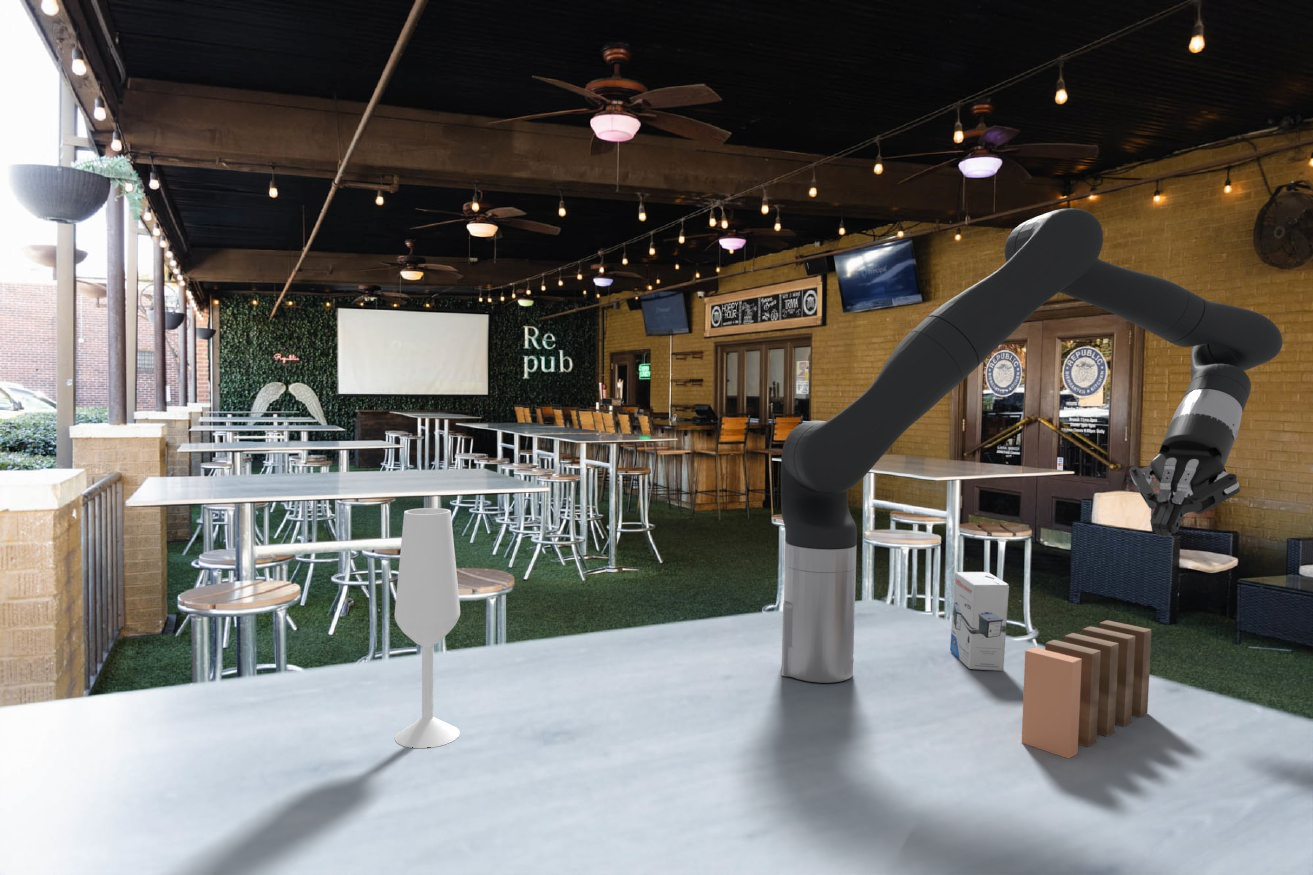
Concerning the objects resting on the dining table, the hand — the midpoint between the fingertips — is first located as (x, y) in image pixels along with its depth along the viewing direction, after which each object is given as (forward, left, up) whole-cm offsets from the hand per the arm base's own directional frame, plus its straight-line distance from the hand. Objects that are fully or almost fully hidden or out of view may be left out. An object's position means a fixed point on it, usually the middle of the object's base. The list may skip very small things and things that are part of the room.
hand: (1161, 532), depth 106 cm
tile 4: (-15, -17, -20) cm, 30 cm away
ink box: (-19, +9, -21) cm, 30 cm away
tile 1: (-6, -7, -20) cm, 22 cm away
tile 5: (-18, -21, -20) cm, 34 cm away
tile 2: (-9, -10, -20) cm, 24 cm away
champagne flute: (-82, -31, -21) cm, 91 cm away
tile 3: (-12, -14, -20) cm, 27 cm away
